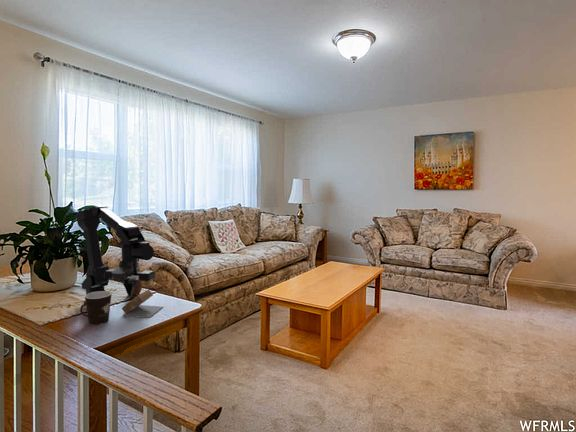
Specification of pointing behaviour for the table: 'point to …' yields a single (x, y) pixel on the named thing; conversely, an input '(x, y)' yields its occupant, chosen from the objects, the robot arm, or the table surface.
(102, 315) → the coffee mug
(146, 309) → the rubber mat
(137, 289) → the wooden figurine
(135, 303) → the wooden block
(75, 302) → the table surface
